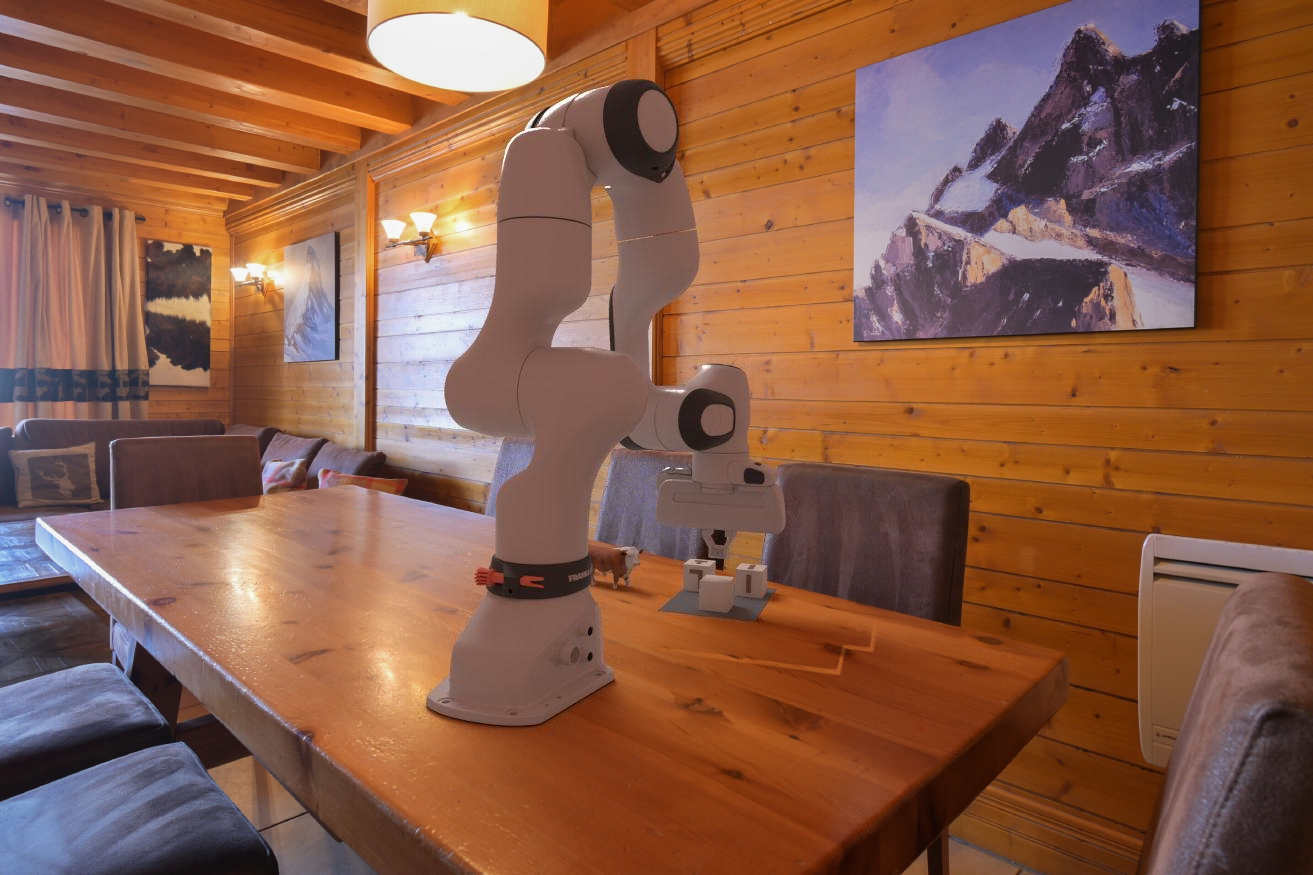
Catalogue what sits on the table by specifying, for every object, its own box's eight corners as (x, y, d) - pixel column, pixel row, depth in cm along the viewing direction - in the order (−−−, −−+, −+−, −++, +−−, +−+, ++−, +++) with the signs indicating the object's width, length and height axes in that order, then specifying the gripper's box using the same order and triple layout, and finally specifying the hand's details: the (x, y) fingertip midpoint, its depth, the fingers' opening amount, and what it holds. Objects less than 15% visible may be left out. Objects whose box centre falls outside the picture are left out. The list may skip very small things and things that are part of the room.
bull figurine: (634, 598, 122) (635, 550, 121) (574, 585, 130) (575, 539, 129) (650, 593, 125) (651, 546, 125) (591, 580, 133) (592, 535, 133)
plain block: (727, 612, 112) (727, 583, 112) (698, 609, 114) (699, 580, 114) (733, 605, 117) (734, 577, 116) (706, 602, 118) (706, 574, 118)
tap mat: (754, 625, 108) (754, 621, 108) (657, 614, 113) (657, 610, 113) (776, 591, 127) (776, 588, 127) (692, 583, 132) (692, 580, 132)
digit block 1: (761, 598, 121) (762, 570, 120) (734, 595, 122) (735, 568, 122) (766, 591, 125) (767, 564, 125) (740, 589, 127) (741, 562, 126)
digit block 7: (708, 593, 124) (709, 565, 123) (682, 590, 125) (683, 563, 125) (715, 586, 128) (715, 560, 128) (690, 583, 129) (690, 557, 129)
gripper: (650, 468, 114) (649, 556, 115) (782, 475, 108) (780, 568, 109) (662, 464, 120) (661, 547, 121) (788, 470, 114) (786, 558, 115)
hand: (718, 557), depth 115 cm, fingers closed
